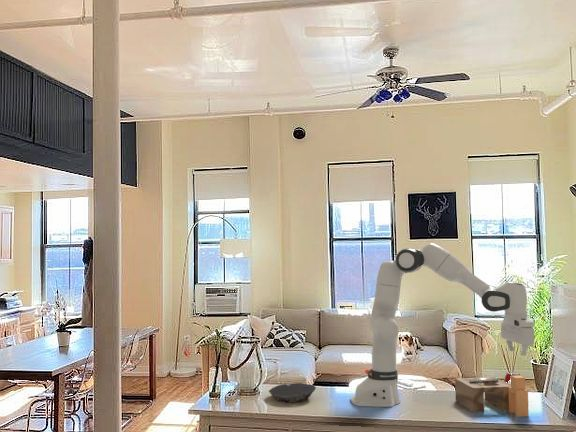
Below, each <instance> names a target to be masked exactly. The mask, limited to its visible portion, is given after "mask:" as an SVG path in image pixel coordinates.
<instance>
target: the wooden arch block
mask: <svg viewBox="0 0 576 432" xmlns="http://www.w3.org/2000/svg"><path fill="white" fill-rule="evenodd" d="M454 383H455V391H454V392H455V401H456V402H458V403H459V404H461V405H462V406H463V407H465V408H467V409H468V410H469V409H470V411H471V412H472V413H473V412H474V413H476V412H477V413H478V412H479V413H481V412H485V401H487V402H488V403H491V404H492V405H493V406H495V407H497V408H499V409H500V410H502V411H509V389H508V387H511V385H510V384H508V383H506V382H505V380H504V381H503V380H501V379H500V378H498V377H495V376H487V377H486V376H484V377H483V376H482V377H460V378H459V377H458V378H457V377H456V378H454ZM479 384H483V385H479Z"/></svg>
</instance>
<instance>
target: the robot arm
mask: <svg viewBox="0 0 576 432" xmlns="http://www.w3.org/2000/svg"><path fill="white" fill-rule="evenodd" d="M422 267H426V268H428V269H430V270H432V272H434V273H436V275H438V276H439V277H441V278H443V279H445V280H448V281H450V282H454V283H459V284H461V285H463V286H465V287H466V288H468V289H469V290H471V292H474V294H476V295H477V296H479V298H480V299H481V304H482V306H483V308H484V309H486V310H487V311H489V312H491V313H493V312H501V311H504V317H503V320H502V322H501V325H500V336H501V339H503V340H506V344H507V349H508V351H509V352H514V351H515V348H514V345H513V343H516V344H518V345H521V346H520V347H521V350H520V353H519V354H520V355H521V356H523V357H524V356H527V351H528V348H529V347H533V346H534V344H535V329H534V327H535V321H534V320H532V319H531V318H530V317H529V316H528V310H527V305H528V296H527V289H526V287H525V286H524V285H523V284H522V283H521V282H517V281H511V280H508V281H506V282H505V283H503V284H500V285H498V286H493V285H489V284H487V283H486V282H484V281H483V280H481V278H479V277H478V276H476V275H475V274H473V273H472V272H471V271H470V270H469V269H468V268H467V266H465V265H464V264H463V263H462V261H461V260H460V259H459V258H457V256H455V255H454V254H453V253H451V252H450V251H448V250H446V249H445V248H443V247H442V246H440V245H437V244H435V243H432V242H430V243H427V244H425V245H424V246H423V247H422V248H421V249H416V248H415V249H414V248H410V247H407V248H402V249H401V250H400V251H398V252H397V254H396V256H395V260H385V261H383V262H382V263H381V264H380V266H379V269H378V273H377V277H376V278H377V279H376V283H375V284H376V286H375V293H374V301H373V305H372V310H371V315H370V320H369V329H370V330H371V332H372V333H373V334H372V335H373V336H372V337H373V338H372V349H371V368H370V369H368V368H366V369H365V370H364V373H365V374H366V375H367V377H366V378H365V379H364V380H363V381H361V382H360V383H359V384H357V386H356V388H355V392H354V393H355V394H354V395H351V396H350V399H349V400H350V402H351V403H352V404H353V405H355V406H357V407H374V408H375V407H379V408H382V407H384V408H385V407H387V408H391V407H394V406H395V405H398V404H400V403H401V399H400V395H399V394H400V393H399V389H398V379H399V377H398V375H399V373H398V369H397V349H398V339H399V331H400V330H399V325H398V323H397V321H396V320H395V317H396V314H397V310H398V309H397V308H398V306H399V304H400V294H401V287H402V279H403V276H404V274H410V273H411V274H412V273H415V272H417V271H419V270H420V269H421V268H422Z"/></svg>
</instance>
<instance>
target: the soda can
mask: <svg viewBox="0 0 576 432" xmlns="http://www.w3.org/2000/svg"><path fill="white" fill-rule="evenodd" d="M518 375H520V376H521V373H520V372H518V371H512V376H518ZM510 376H511V371H510V373H509V371H506V374H505V376H504V382H507V383H508V381H509V380H510Z"/></svg>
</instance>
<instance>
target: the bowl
mask: <svg viewBox="0 0 576 432" xmlns="http://www.w3.org/2000/svg"><path fill="white" fill-rule="evenodd" d="M316 389H317V386H315V385H314V384H307V383H302V382H295V383H290V384H286V383H285V384H279V385H278V384H277V385H276V386H274V387H272V388H270V389H269V390H268V393H269V394H270V395H271V396H272V397H274V398H275V399H276V400H278V402H284V403H286V404H287V403H290V402H293V403H301V402H302V401H305V400H307V401H308V399H309V397H311V395H312V394H313V393H314V392H315V391H316Z"/></svg>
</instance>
